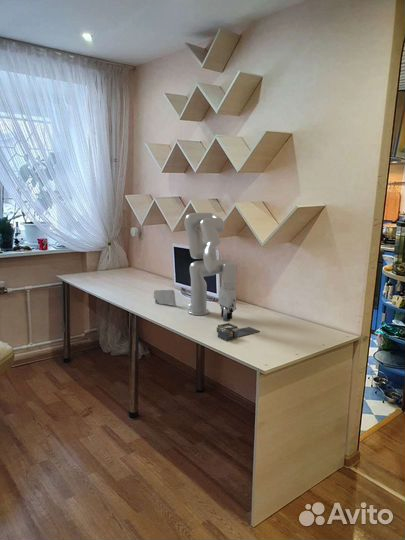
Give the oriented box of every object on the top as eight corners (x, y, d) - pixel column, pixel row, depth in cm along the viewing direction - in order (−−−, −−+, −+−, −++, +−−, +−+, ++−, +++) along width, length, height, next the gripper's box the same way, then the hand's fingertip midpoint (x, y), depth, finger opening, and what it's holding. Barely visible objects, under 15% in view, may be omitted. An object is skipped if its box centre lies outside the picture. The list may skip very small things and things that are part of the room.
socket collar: (217, 326, 223) (217, 325, 223) (228, 324, 228) (228, 322, 228) (226, 330, 217) (226, 329, 217) (237, 327, 222) (237, 326, 222)
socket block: (217, 337, 207) (218, 329, 206) (228, 334, 211) (228, 327, 211) (226, 341, 202) (226, 333, 201) (237, 338, 206) (237, 331, 205)
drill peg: (221, 319, 223) (222, 304, 221) (226, 318, 226) (227, 302, 224) (226, 321, 220) (227, 306, 218) (231, 320, 223) (232, 304, 221)
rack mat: (228, 332, 214) (228, 332, 214) (249, 327, 223) (249, 326, 223) (238, 337, 208) (238, 336, 207) (259, 331, 216) (259, 330, 216)
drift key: (216, 332, 211) (216, 327, 211) (220, 331, 213) (220, 326, 212) (229, 337, 203) (229, 332, 203) (233, 336, 205) (233, 331, 204)
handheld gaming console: (157, 305, 270) (176, 305, 262) (154, 306, 267) (173, 306, 260) (155, 289, 268) (174, 288, 261) (152, 289, 266) (171, 289, 258)
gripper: (213, 282, 223) (211, 314, 227) (233, 290, 210) (231, 323, 214) (223, 281, 227) (222, 312, 231) (244, 288, 214) (241, 321, 218)
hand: (226, 317), depth 223 cm, fingers closed on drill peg, 4 cm apart
